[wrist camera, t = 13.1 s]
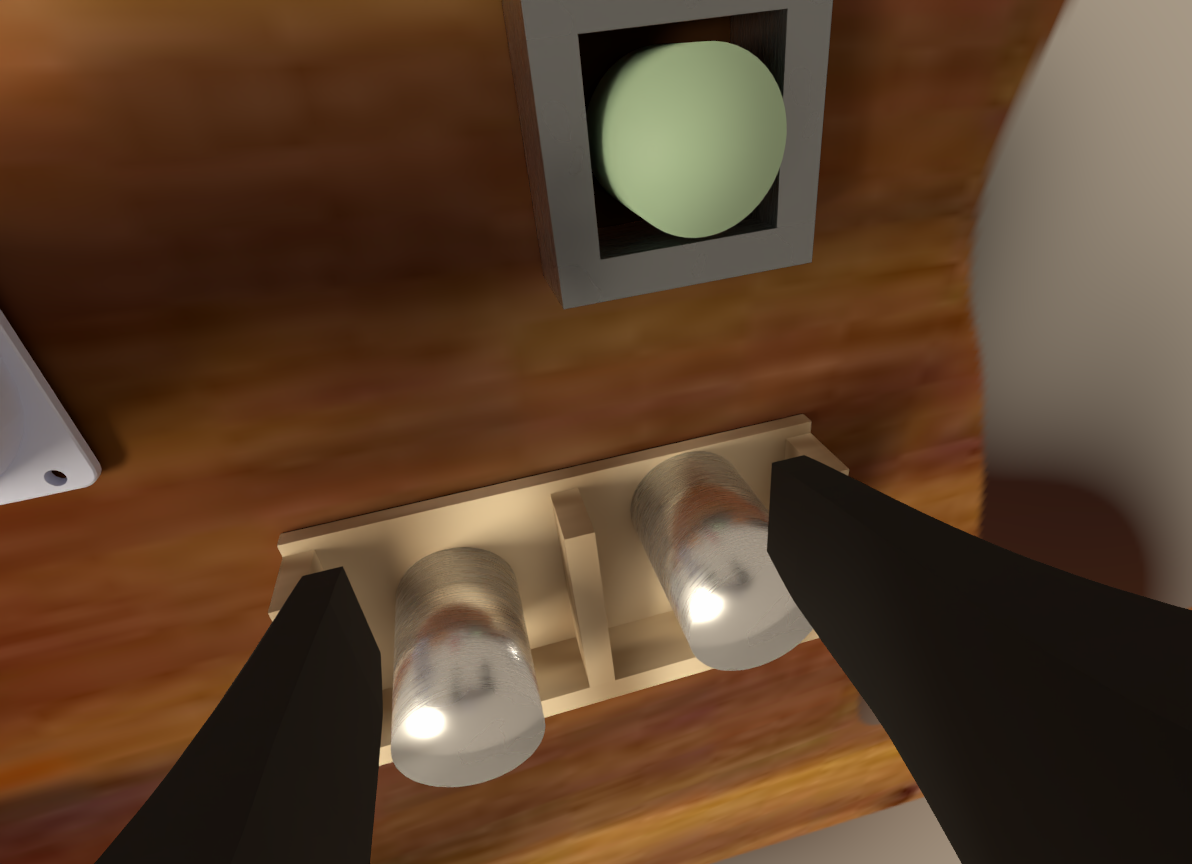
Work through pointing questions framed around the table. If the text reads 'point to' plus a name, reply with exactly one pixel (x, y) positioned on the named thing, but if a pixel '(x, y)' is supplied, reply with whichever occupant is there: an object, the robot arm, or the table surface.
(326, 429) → the table surface
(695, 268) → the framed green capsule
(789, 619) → the billet
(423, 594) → the seated billet
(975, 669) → the robot arm
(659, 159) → the button
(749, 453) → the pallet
